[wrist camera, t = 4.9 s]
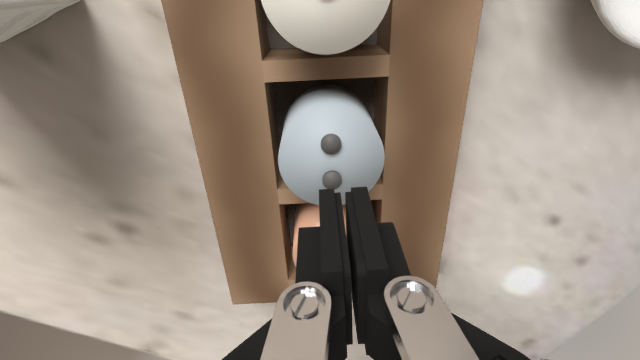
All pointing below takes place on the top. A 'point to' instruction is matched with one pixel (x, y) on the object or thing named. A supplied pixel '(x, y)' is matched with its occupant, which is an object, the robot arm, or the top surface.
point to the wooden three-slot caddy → (263, 138)
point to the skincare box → (26, 14)
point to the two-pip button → (329, 144)
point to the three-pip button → (307, 221)
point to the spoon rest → (620, 19)
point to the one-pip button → (325, 22)
